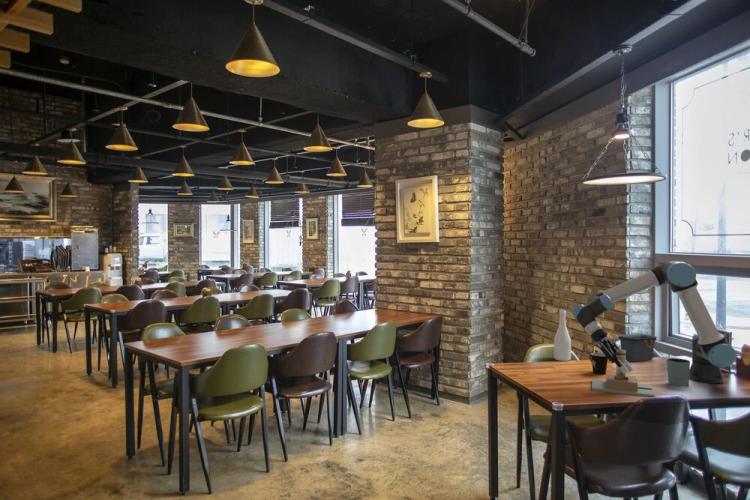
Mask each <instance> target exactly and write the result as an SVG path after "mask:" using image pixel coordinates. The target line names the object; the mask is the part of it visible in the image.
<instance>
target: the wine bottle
mask: <svg viewBox="0 0 750 500" xmlns="http://www.w3.org/2000/svg"><path fill="white" fill-rule="evenodd" d="M558 312H559V313H558V314H559V323H558V327H557V330H556V332H555V336H554V339H553V357H554V360H556V361H558V362H559V361H560V362H561V361H562V362H568V361H570V360H571V359H572V340H571V336H570V333H569V330H568V327H567V324H566V323H567V322H566V314H567V311H566V309H559V311H558Z"/></svg>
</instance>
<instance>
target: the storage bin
mask: <svg viewBox="0 0 750 500" xmlns="http://www.w3.org/2000/svg"><path fill="white" fill-rule="evenodd" d="M617 336H618V337H617V339H618V340H620V342H619V343H620V349H621V350H625V351H626V360H627V361H628V362H642V361H651V359H652V360H653V358H654V357H653V356H654V348H655V342H656V341H657V340H658V339H657V338H658V336H657V335H656V336H655V335H650V334H646V333H630V334H629V333H628V334H618V335H617Z"/></svg>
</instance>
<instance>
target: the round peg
mask: <svg viewBox="0 0 750 500" xmlns="http://www.w3.org/2000/svg"><path fill="white" fill-rule="evenodd" d="M616 357H617V358H618V359H620V360H621V362H622V363H623V364H624V365H625V367H626V351H625V350H616ZM615 367H616V370H615V371H616V372H615V373H616V379H619V380H625V376H626V375H627V374H626V373H627V372H626V373H625V374H624V373H623V372H622V371H621V370H620V369H619V367H618V366H617V365H616V364H615Z"/></svg>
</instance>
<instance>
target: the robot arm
mask: <svg viewBox="0 0 750 500" xmlns="http://www.w3.org/2000/svg"><path fill="white" fill-rule="evenodd" d="M664 285H669V288H670V290H671V292H673V293H675V294H677V297H678V298H679V300H680V302H681V304H682V306H683V308H684V310H685V312H686V314H687V316H688V318H689V320H690V323H691V324H692V326H693V328H694V331H695V332H696V334H693V335H692V339H691V345H692V346H691V364H690V372H689V378H690V379H689V380H691V379H692V381H695V380H696V381H695V382H699V381H700V383H705V382H707V384H723V383H724V376H723V375H724V374H723V372H722V370H721V368H727V367H730V366H731V365H732V364H734V363H735V361H736V359H737V351H736V349H735V348H734V347H733V346H732V345H731V344H729V343H728V341H727V338H726V336H725V335H724V334H722V333H720V332H719V331H718V328H717V326H716V324H715V323H714V321H713V318H712V316H711V315H710V312H709V311H708V308H707V306H706V305H705V302H704V300H703V298H702V297H701V295H700V293H699V290H698V289H697V287H698V285H699V282H698V280H697V272H696V270H695V268H694V267H693V265H691V264H690V263H687V262H684V261H681V260H680V261H676V260H670V261H666V262H663V263H661V264H659V265H657V266H655V267H652V268H650V269H649V270H647V272H646V273H644V274H642V275H639V276H637V277H636V276H635V277H634V278H632V279H630V280H627V281H625V282H623V283H620V284H617V285H615V286H613V287H610V288H608V289H606V290H604V291H601V292H599V293H596V294H592V295H588V297H587V298H586V305H585V304H582V303H581V304H578V305H576V306H575V307H574V308H573V309H572V311H571V314H572V315H573V317H574V318H575V320H576V321H577V322H578V323H579V324H580V326H581V327H582V328H583V329H584V330H585V332H586V333H587V334H588V336H590V338H591V339H592V341H593V342H594V343H597V344H596V347H597V348H598V349H599V350H600V352H601V353H604V355H605V356H606V357H607V358H608V361H610V362H611V363H612V364H615V366H616V365H617V366H618V367H619V369H620V370H621V371H622V372H623V373H624V374H625V373H631V372H632V371H633V370H634V368H633V366H632V365H631V364H630V363H629V361H628V360H626V367H625V365H624V364H623V363H622V362H621V360H620V359H618V358H617V357H616V350H621V347H620V346H619V345H618V344H617V343H616V340H615V339H610V338H609V337H608V332H607V331H606V330H605V329H604V328H603V326H602V325H601V324H600V323H599V321H597V319H596V318H598V317H599V316H601V315H603V314H604V313H606V312H607V311H609V310H610V309H611V308H613V307H614V305H615V303H616V302H617V303H618V302H619V301H622V300H624V299H626V298H629V297H631V296H633V295H634V296H635V295H637V294H639V293H641V292H644V291H646V290H648V289H650V288H654V287H657V288H658V287H661V286H664Z"/></svg>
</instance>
